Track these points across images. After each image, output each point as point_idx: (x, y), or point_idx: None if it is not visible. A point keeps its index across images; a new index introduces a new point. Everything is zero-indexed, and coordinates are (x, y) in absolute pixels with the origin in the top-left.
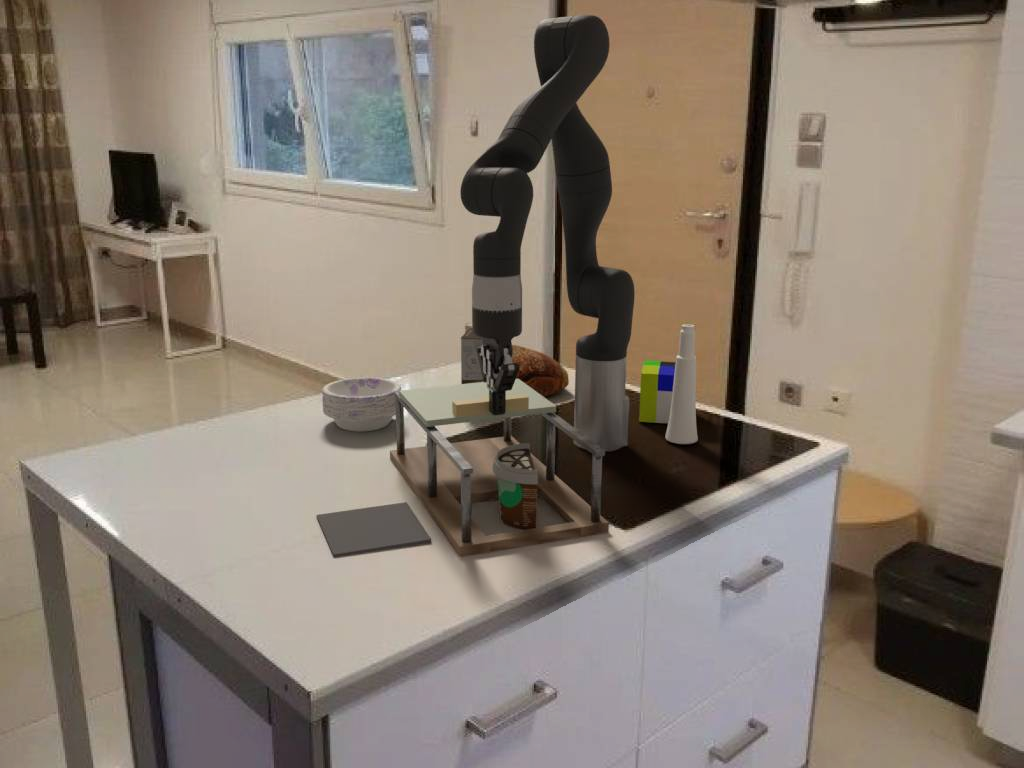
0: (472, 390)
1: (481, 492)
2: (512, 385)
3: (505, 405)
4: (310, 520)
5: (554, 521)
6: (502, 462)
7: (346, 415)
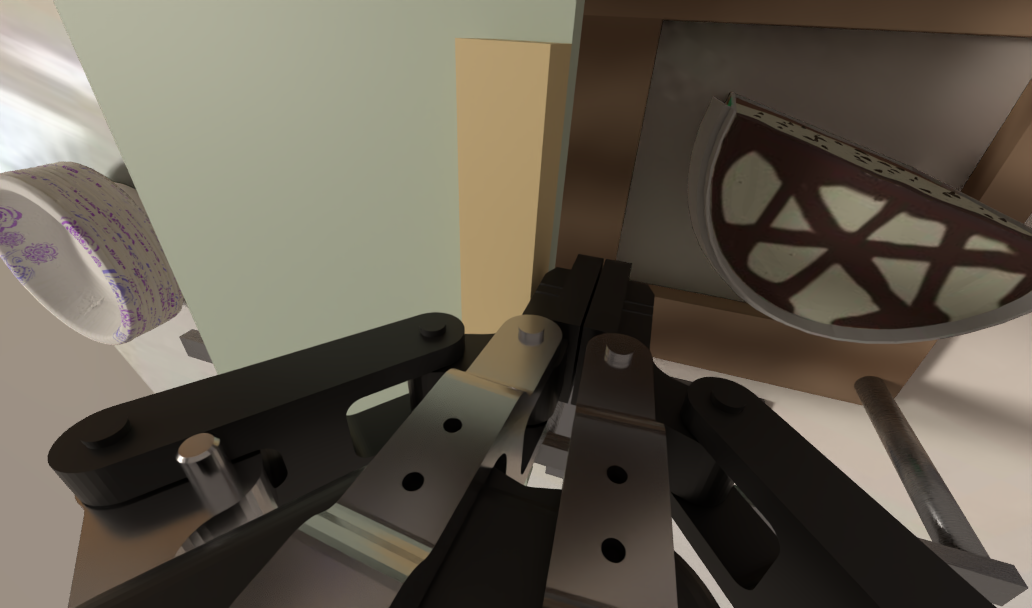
0: (213, 186)
1: (621, 217)
2: (801, 444)
3: (626, 281)
4: (548, 474)
5: (910, 73)
6: (801, 296)
7: (172, 309)
